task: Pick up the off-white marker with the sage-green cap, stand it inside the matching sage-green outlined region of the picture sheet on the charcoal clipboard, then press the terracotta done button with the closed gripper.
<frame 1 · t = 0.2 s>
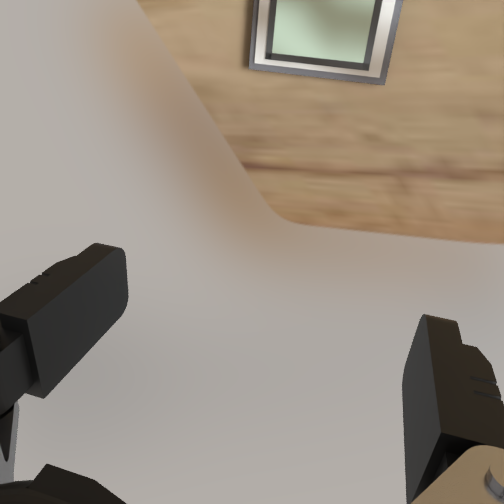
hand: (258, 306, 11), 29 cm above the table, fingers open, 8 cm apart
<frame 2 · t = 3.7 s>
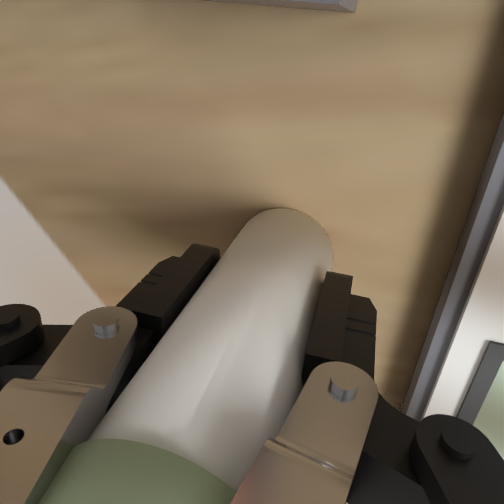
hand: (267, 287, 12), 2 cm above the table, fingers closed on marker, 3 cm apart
marker: (284, 254, 14), on the table, touching gripper
when the fingers open (4 cm above the table, at t = 10.3 s): marker stays where it is, resting on picture board.
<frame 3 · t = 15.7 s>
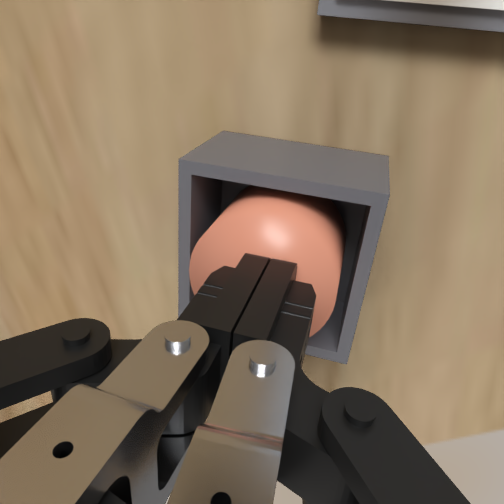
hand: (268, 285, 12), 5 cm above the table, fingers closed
done button: (272, 258, 14), point 3 cm above the table, slide at 1.0 cm, touching gripper
button housing: (291, 219, 17), on the table
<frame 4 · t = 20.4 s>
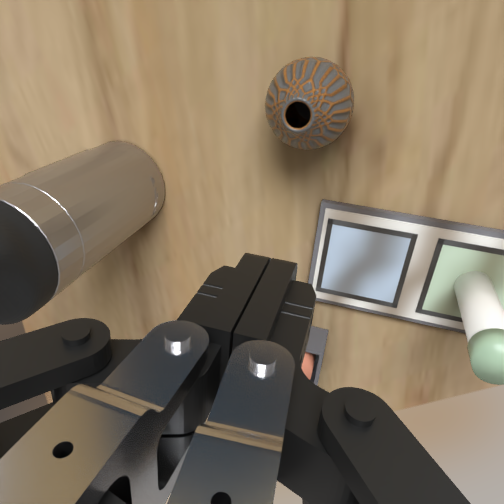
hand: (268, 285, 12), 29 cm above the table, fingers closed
done button: (293, 360, 47), point 3 cm above the table, slide at 1.5 cm
marker: (473, 286, 40), point 1 cm above the table, touching picture board
button housing: (298, 344, 50), on the table
picture board: (415, 269, 42), on the table
vase: (316, 98, 38), on the table
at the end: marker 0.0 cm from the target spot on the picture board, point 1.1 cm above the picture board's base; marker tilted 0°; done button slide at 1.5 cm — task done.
